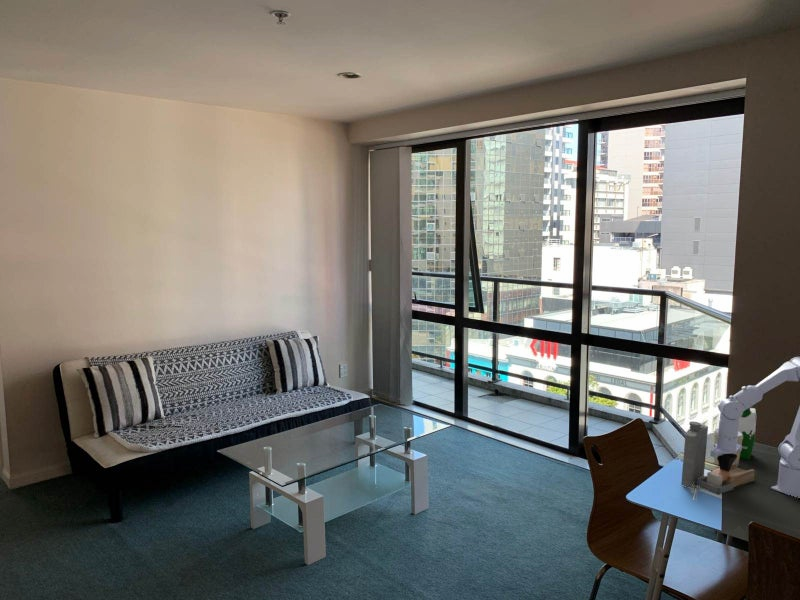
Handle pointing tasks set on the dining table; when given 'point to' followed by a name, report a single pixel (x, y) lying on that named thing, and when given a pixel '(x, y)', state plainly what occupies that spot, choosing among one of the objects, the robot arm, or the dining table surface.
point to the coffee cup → (739, 441)
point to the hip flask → (694, 453)
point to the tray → (718, 490)
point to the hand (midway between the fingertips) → (724, 474)
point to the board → (739, 476)
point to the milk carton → (747, 431)
